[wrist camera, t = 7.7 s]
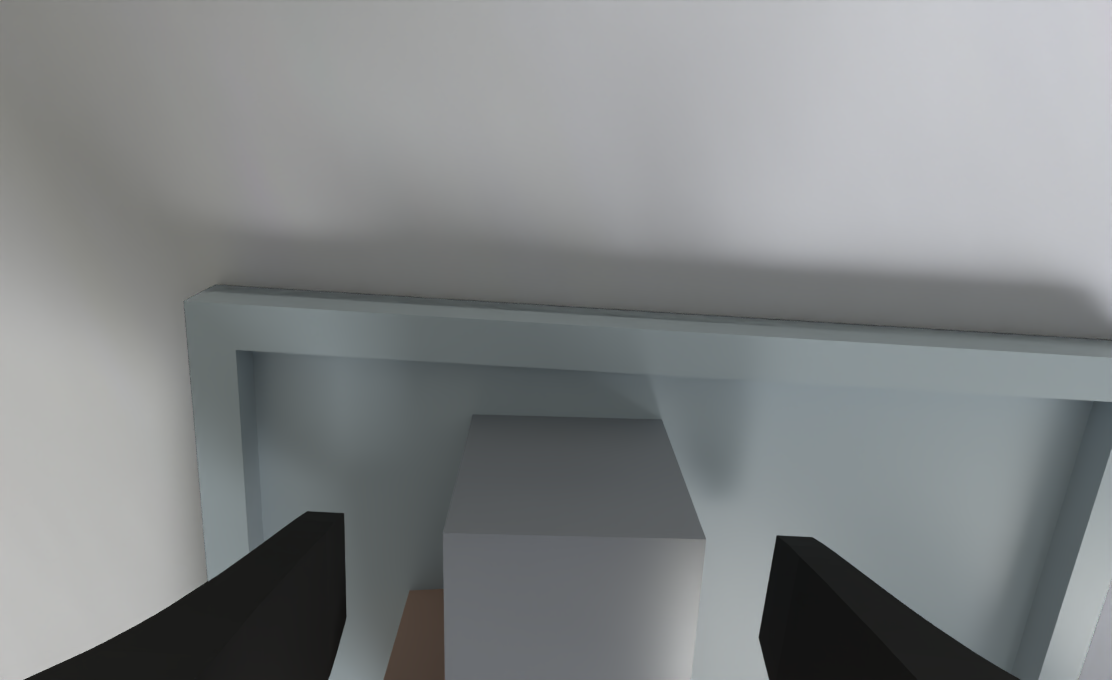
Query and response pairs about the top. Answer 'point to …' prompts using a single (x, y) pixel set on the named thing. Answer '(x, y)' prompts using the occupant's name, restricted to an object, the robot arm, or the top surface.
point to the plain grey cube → (570, 553)
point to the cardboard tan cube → (419, 639)
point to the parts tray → (676, 452)
